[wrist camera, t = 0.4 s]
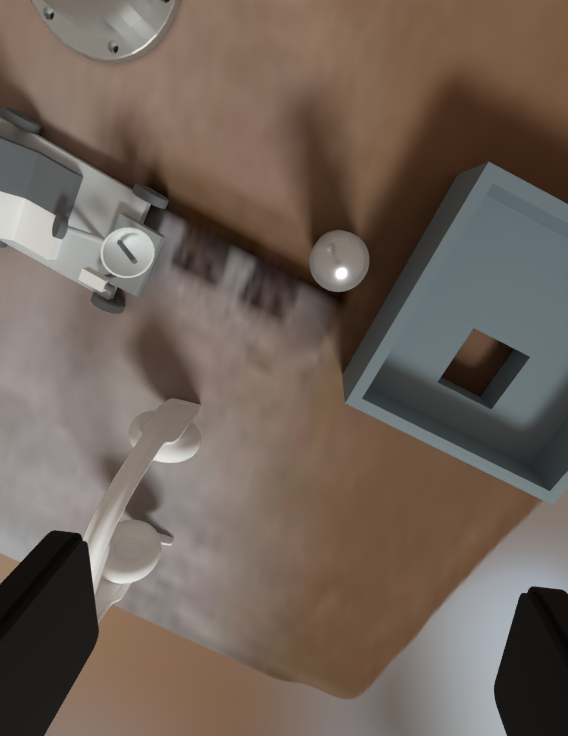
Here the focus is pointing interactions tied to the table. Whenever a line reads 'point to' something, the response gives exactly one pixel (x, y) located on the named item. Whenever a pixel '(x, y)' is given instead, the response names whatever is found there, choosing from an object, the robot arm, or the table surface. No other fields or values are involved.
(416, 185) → the table surface
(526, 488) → the open box
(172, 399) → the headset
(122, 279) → the toy car
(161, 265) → the table surface
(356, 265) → the peg
